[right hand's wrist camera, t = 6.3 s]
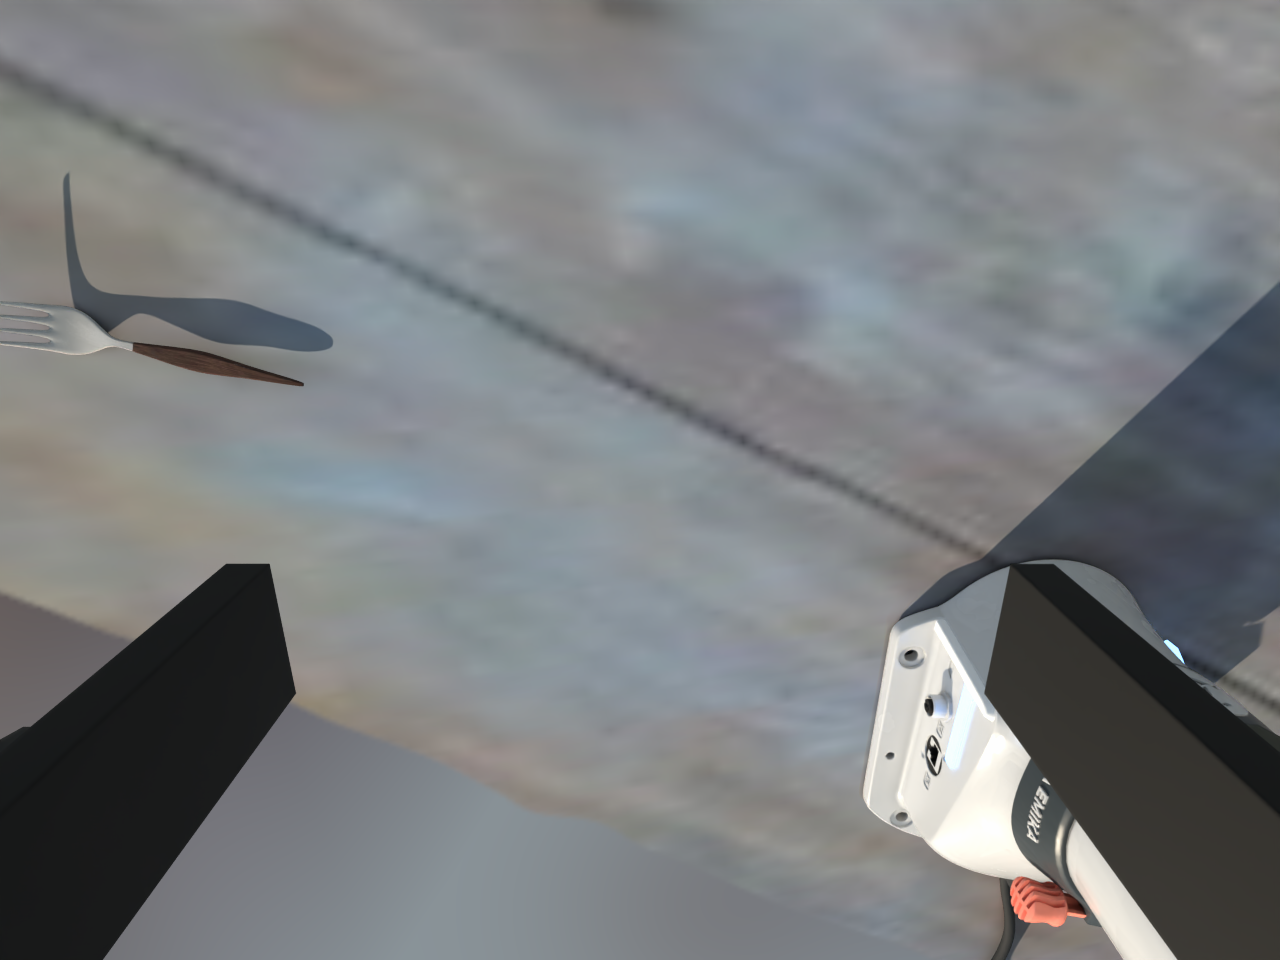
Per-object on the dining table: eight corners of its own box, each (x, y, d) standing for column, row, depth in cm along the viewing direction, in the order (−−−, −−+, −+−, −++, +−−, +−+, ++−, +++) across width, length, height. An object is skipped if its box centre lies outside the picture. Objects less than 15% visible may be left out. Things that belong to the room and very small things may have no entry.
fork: (305, 405, 40) (289, 414, 38) (11, 340, 39) (-21, 346, 37) (309, 360, 39) (292, 367, 37) (8, 292, 38) (-26, 295, 36)
